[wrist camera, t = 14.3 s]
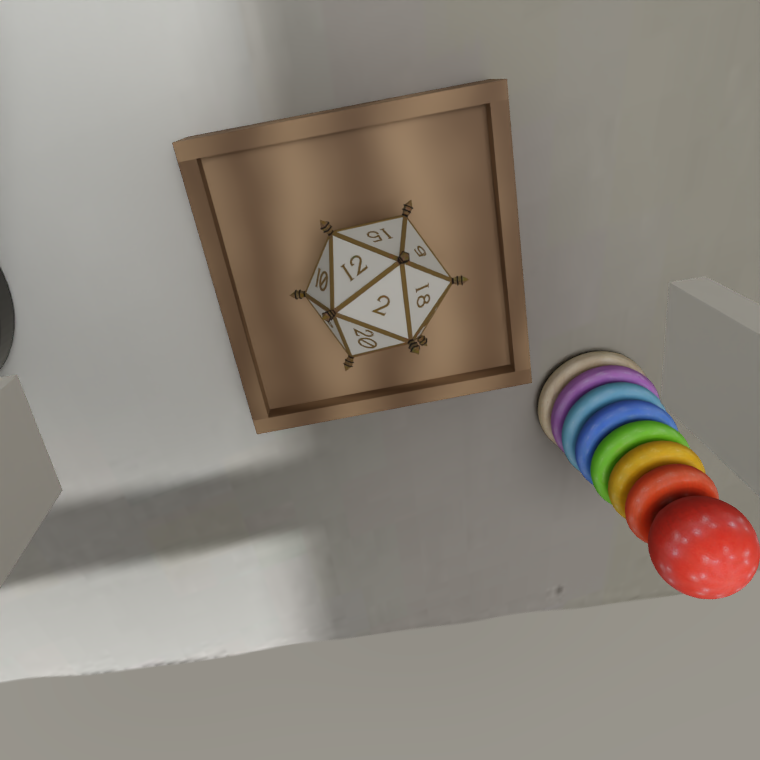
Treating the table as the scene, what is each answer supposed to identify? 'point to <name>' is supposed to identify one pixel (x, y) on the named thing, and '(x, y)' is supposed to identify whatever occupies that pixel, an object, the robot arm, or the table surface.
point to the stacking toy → (648, 473)
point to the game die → (377, 285)
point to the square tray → (354, 207)
